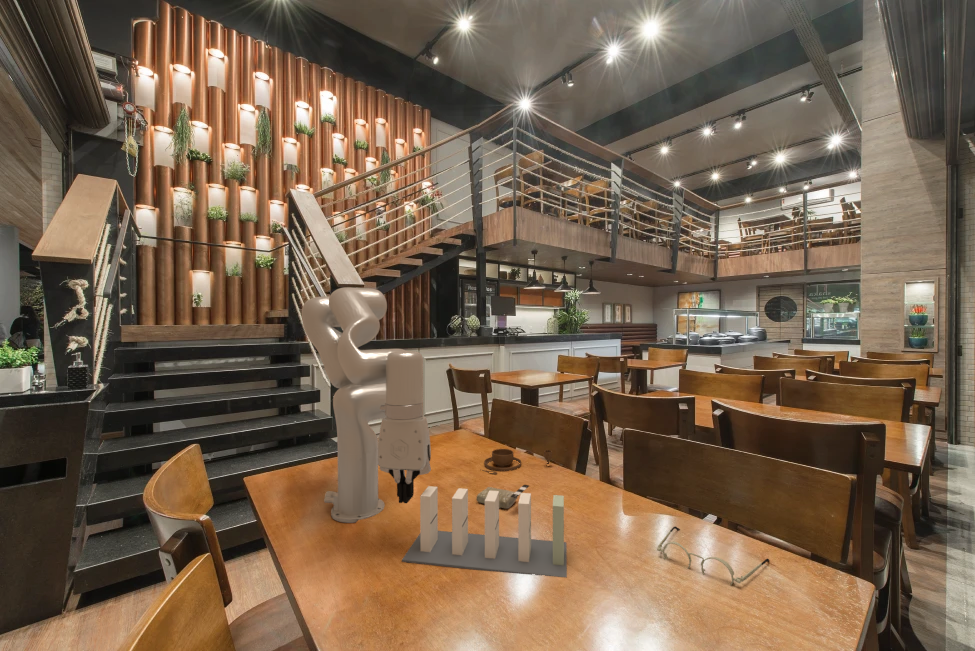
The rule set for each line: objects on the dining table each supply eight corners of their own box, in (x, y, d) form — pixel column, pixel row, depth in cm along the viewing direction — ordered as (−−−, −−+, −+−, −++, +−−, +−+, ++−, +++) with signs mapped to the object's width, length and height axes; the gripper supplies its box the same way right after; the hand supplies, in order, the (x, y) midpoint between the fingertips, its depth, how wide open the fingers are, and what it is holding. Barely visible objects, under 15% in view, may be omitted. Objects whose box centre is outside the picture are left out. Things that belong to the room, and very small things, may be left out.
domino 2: (452, 554, 82) (451, 498, 81) (458, 541, 86) (458, 488, 86) (462, 555, 81) (462, 499, 81) (468, 542, 86) (467, 488, 86)
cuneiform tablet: (515, 497, 99) (473, 487, 105) (516, 515, 99) (474, 505, 105) (529, 485, 105) (488, 477, 111) (530, 502, 105) (489, 493, 111)
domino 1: (420, 551, 83) (420, 495, 83) (428, 538, 88) (428, 486, 88) (430, 552, 82) (430, 496, 82) (437, 539, 87) (437, 486, 87)
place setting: (505, 456, 145) (505, 439, 145) (555, 469, 132) (555, 450, 132) (471, 470, 131) (471, 451, 131) (523, 485, 118) (523, 465, 118)
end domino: (564, 551, 83) (563, 495, 82) (563, 565, 78) (563, 506, 78) (553, 550, 83) (553, 494, 83) (552, 564, 78) (552, 505, 78)
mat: (401, 561, 80) (401, 559, 80) (422, 531, 92) (422, 529, 92) (566, 579, 74) (566, 577, 74) (566, 544, 86) (566, 542, 86)
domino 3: (484, 557, 80) (484, 500, 80) (489, 544, 85) (489, 490, 85) (495, 558, 80) (495, 501, 80) (499, 545, 85) (499, 491, 85)
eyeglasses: (649, 559, 81) (649, 534, 81) (680, 532, 91) (680, 509, 91) (749, 602, 69) (749, 571, 69) (772, 564, 79) (772, 538, 79)
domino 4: (518, 561, 79) (518, 503, 79) (520, 547, 84) (520, 492, 84) (529, 562, 79) (528, 504, 79) (531, 548, 84) (531, 493, 84)
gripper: (362, 414, 83) (363, 505, 83) (433, 416, 81) (434, 511, 81) (379, 406, 91) (379, 491, 91) (445, 408, 88) (445, 495, 88)
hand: (405, 500), depth 86 cm, fingers closed
